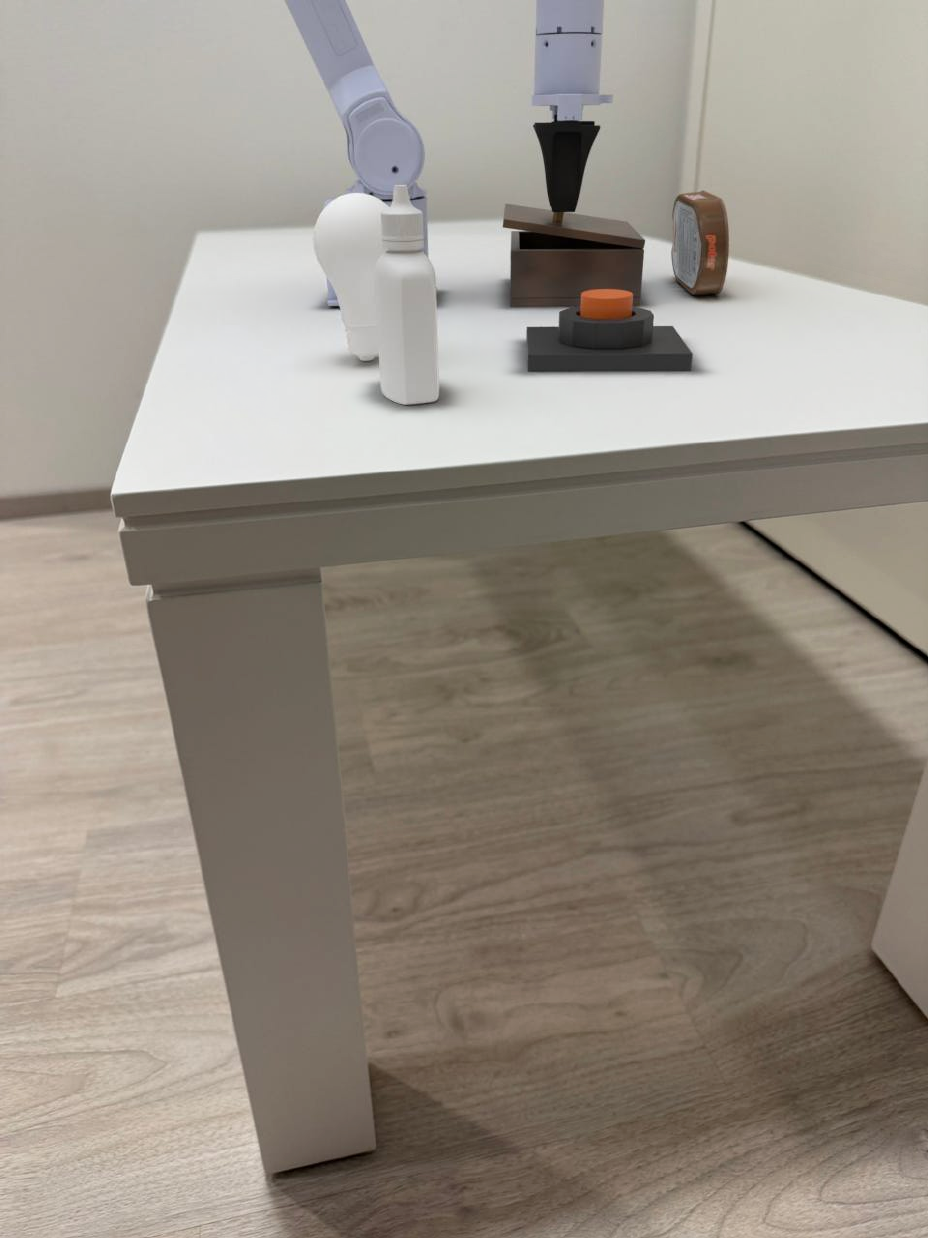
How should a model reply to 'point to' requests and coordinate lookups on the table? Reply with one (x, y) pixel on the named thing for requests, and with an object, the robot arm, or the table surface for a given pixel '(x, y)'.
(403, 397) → the eye dropper bottle
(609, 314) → the button
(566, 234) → the lid
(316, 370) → the table surface
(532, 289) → the box
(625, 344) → the switch block
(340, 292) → the lightbulb
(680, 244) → the tin
